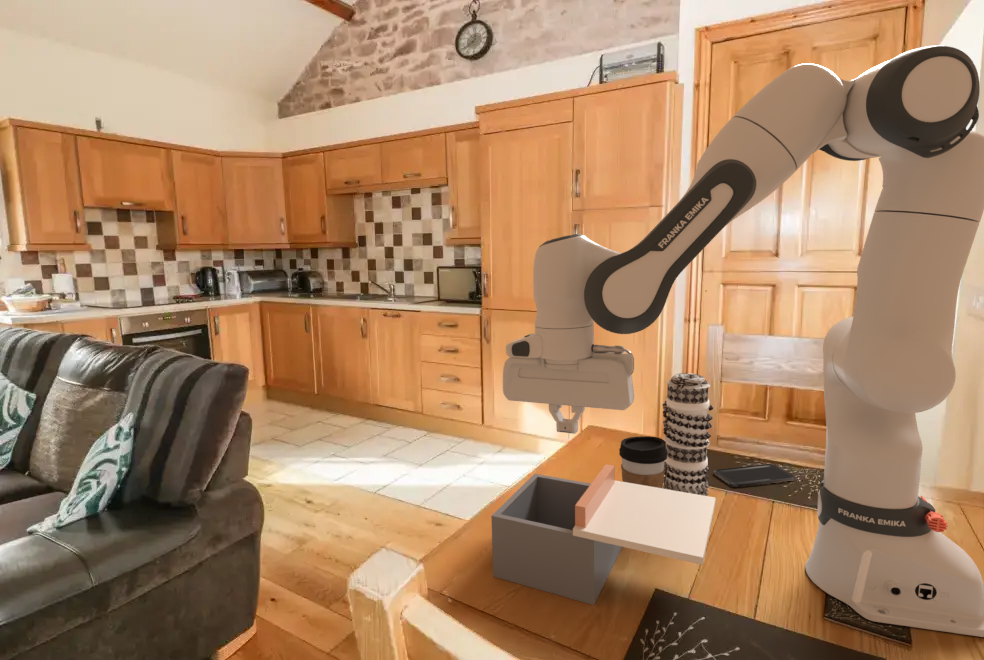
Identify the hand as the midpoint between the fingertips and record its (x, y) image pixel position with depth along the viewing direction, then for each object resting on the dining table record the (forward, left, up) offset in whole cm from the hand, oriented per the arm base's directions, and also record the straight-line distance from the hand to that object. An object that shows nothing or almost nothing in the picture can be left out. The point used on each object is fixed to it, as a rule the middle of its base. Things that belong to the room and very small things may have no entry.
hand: (567, 431), depth 82 cm
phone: (-26, -47, -22) cm, 58 cm away
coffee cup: (-8, -19, -22) cm, 30 cm away
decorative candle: (-14, -31, -22) cm, 40 cm away
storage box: (+1, 0, -22) cm, 22 cm away
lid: (-12, 0, -12) cm, 17 cm away
